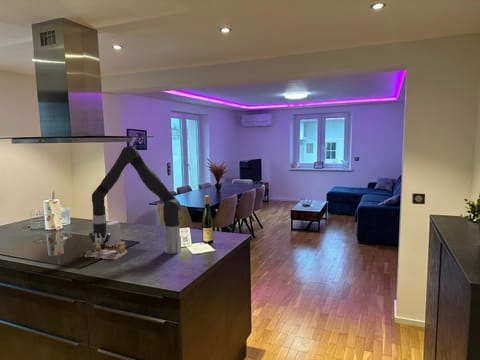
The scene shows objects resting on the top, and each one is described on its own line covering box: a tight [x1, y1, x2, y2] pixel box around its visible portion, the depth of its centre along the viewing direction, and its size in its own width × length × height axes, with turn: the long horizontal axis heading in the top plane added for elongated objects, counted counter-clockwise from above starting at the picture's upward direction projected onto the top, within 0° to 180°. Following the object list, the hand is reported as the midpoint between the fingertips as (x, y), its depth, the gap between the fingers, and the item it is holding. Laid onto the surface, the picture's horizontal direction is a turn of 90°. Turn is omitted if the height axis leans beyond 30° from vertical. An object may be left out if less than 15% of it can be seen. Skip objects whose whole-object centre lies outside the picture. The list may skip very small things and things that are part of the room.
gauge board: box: [84, 241, 128, 260], centre depth 192 cm, size 20×13×8 cm, turn 80°
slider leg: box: [93, 239, 105, 251], centre depth 193 cm, size 3×8×6 cm, turn 170°
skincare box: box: [105, 220, 122, 248], centre depth 210 cm, size 8×7×16 cm
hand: (100, 249), depth 195 cm, fingers closed on slider leg, 3 cm apart
